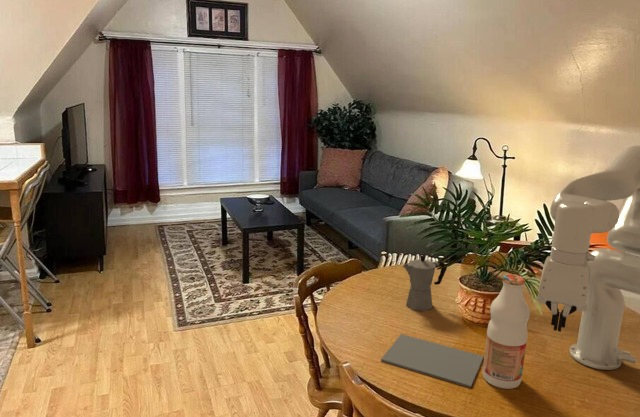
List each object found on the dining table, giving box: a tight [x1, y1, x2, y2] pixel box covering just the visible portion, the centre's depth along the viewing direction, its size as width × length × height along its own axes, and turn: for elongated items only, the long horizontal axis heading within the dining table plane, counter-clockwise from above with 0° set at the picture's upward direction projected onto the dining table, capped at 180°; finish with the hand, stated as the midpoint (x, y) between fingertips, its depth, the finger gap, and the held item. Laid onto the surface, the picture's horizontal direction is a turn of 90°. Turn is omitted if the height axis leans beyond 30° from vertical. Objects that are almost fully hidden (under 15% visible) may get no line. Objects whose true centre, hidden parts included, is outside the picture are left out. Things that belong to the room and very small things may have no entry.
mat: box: [380, 333, 484, 389], centre depth 133 cm, size 24×16×1 cm, turn 61°
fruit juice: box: [482, 273, 531, 390], centre depth 122 cm, size 9×9×28 cm
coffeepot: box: [402, 255, 448, 312], centre depth 164 cm, size 15×9×18 cm, turn 99°
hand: (557, 328), depth 116 cm, fingers closed
